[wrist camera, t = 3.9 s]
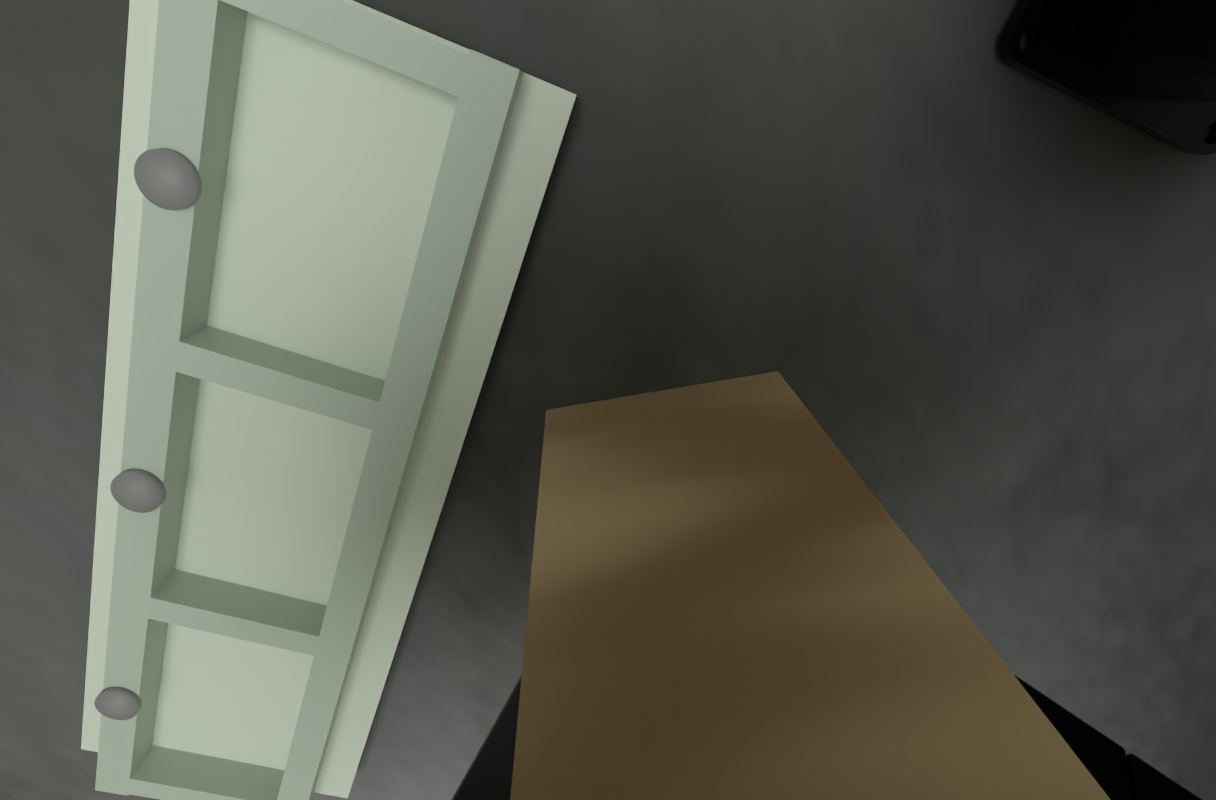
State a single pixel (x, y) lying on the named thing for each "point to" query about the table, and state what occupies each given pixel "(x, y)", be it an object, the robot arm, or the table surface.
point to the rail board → (289, 374)
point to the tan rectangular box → (751, 623)
